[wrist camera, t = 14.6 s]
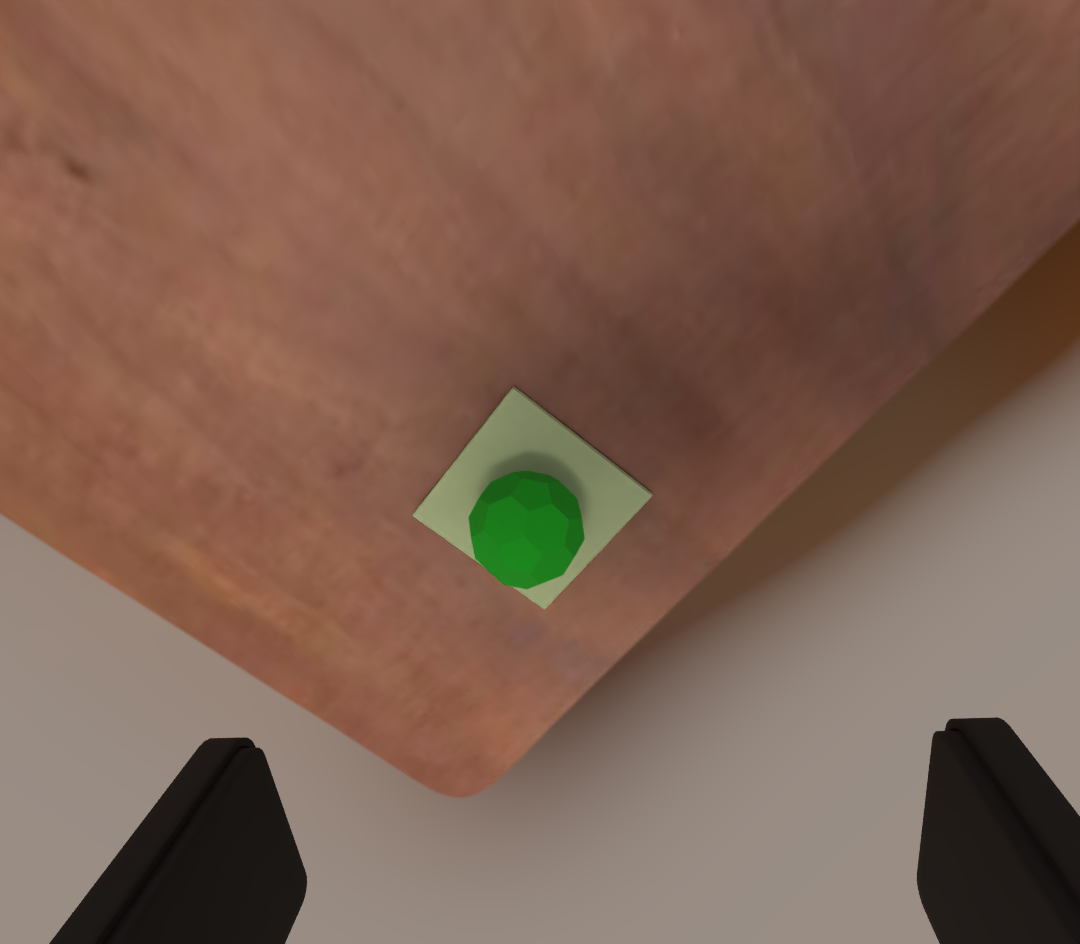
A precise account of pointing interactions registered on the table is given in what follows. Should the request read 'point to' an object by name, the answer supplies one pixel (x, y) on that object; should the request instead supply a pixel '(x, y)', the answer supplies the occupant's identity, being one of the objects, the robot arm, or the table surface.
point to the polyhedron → (526, 529)
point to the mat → (543, 447)
